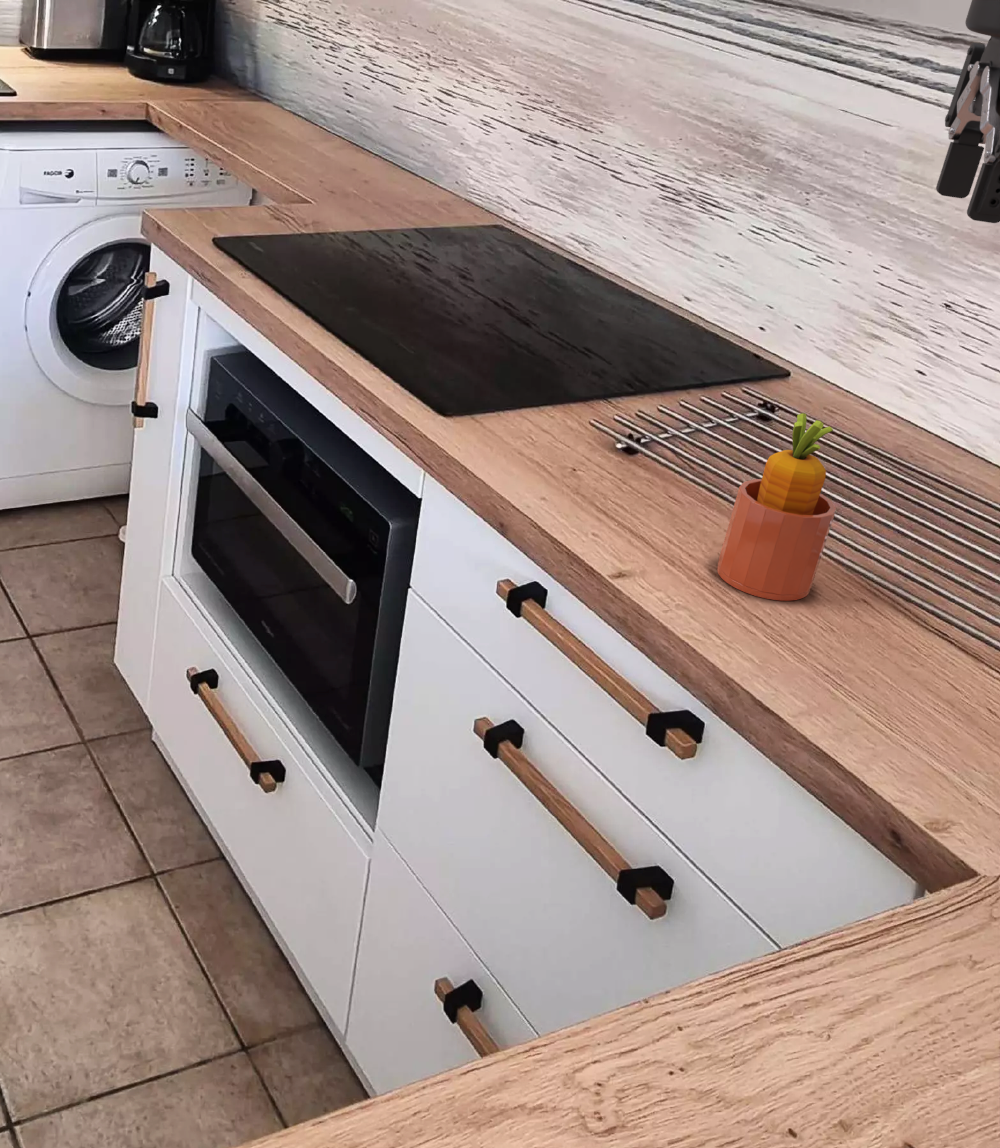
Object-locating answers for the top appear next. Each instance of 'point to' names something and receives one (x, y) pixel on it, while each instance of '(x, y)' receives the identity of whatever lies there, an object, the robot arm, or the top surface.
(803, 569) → the pot
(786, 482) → the carrot
